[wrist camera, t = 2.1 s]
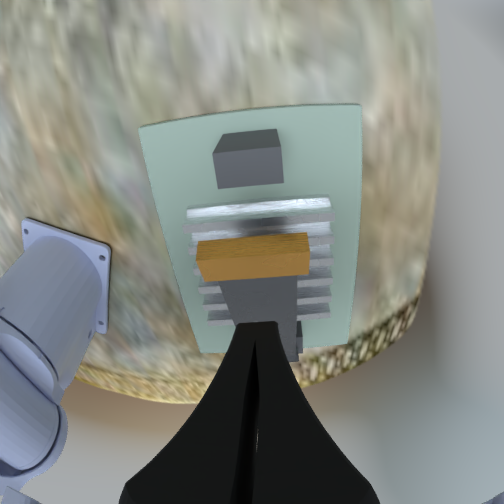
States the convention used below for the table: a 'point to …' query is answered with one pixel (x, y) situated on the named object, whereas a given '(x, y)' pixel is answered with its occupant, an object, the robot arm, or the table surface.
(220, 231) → the heat sink
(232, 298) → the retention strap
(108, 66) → the table surface
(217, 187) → the socket board
